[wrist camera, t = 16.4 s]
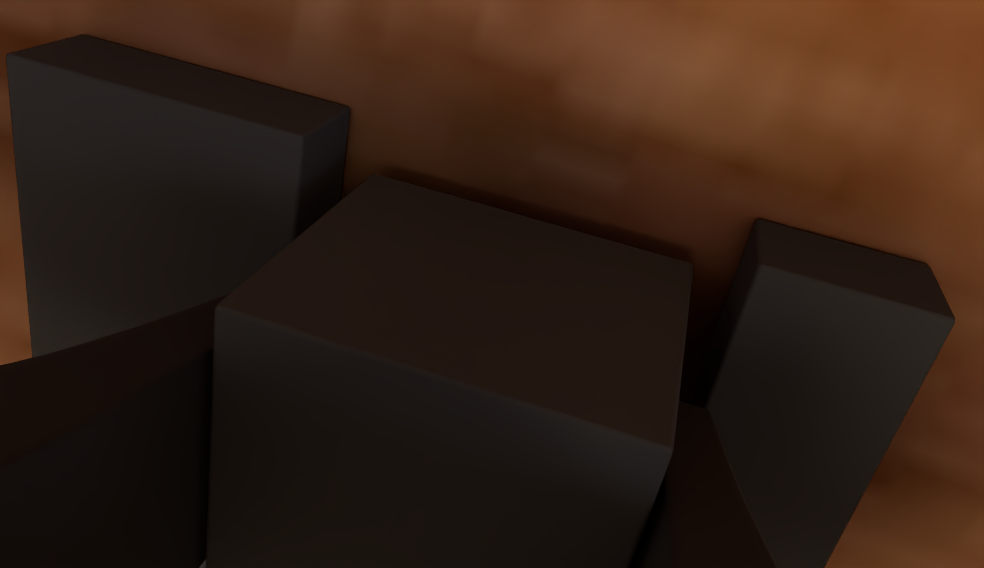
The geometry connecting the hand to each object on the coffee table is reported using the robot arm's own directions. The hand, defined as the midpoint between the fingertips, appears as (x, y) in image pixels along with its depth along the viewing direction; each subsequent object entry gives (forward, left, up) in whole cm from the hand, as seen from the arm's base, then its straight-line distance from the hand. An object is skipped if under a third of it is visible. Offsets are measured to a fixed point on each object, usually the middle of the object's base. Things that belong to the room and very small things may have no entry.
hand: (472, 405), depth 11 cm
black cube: (0, 0, -1) cm, 1 cm away
